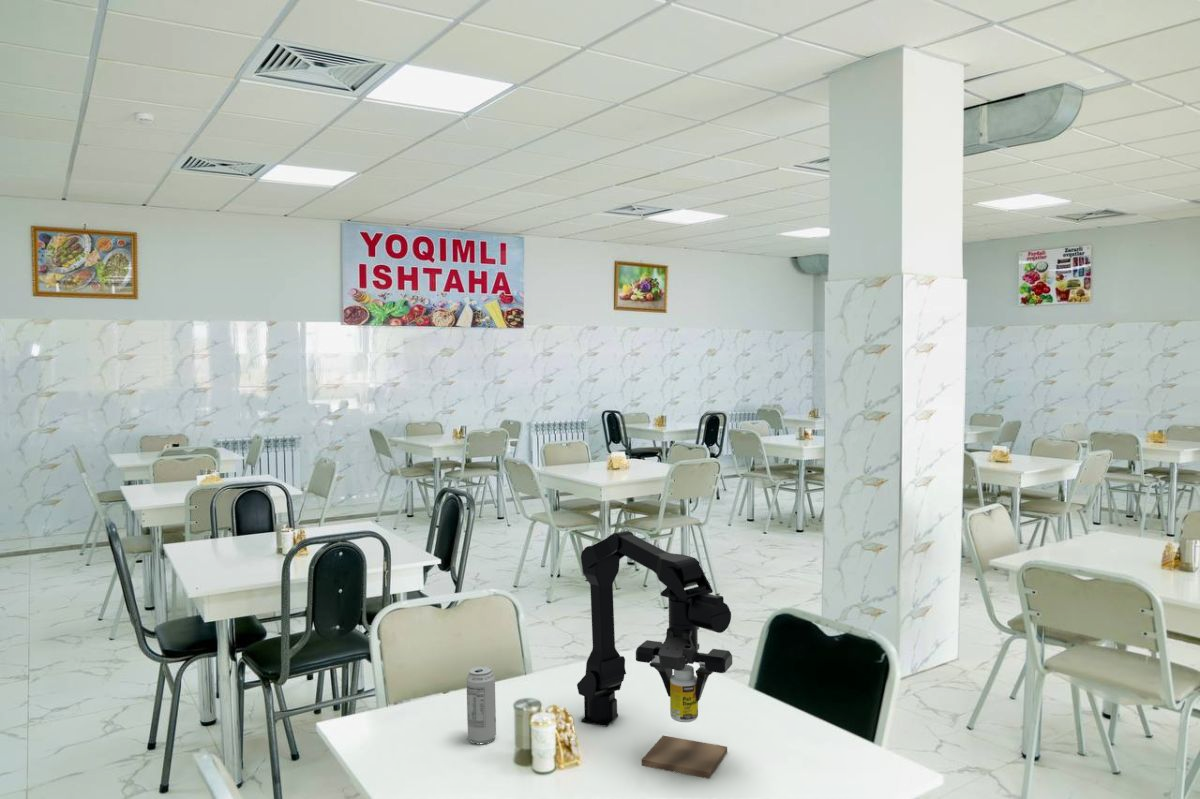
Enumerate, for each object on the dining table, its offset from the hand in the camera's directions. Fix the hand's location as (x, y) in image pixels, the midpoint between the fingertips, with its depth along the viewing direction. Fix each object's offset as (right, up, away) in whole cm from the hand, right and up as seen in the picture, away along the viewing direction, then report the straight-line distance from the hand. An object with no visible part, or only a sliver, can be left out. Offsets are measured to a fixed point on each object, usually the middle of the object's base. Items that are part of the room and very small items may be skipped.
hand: (684, 698), depth 170 cm
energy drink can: (-42, -13, +11) cm, 45 cm away
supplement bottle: (0, -4, 0) cm, 4 cm away
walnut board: (0, -12, 0) cm, 12 cm away
